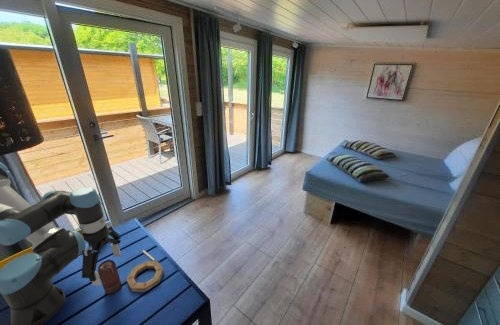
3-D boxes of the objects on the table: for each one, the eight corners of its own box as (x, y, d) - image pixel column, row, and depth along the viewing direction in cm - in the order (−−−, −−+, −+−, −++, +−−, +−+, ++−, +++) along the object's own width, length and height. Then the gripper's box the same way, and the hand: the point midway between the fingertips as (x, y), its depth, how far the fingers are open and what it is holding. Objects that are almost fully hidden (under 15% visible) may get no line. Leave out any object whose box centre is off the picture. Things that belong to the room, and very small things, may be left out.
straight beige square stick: (154, 260, 105) (154, 259, 105) (153, 261, 105) (153, 260, 104) (143, 250, 110) (143, 249, 110) (142, 251, 110) (142, 250, 110)
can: (114, 297, 87) (107, 273, 82) (101, 294, 89) (93, 269, 83) (125, 284, 93) (118, 260, 88) (113, 281, 94) (105, 257, 89)
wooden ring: (122, 291, 90) (121, 288, 89) (137, 264, 103) (137, 260, 102) (155, 291, 90) (154, 288, 89) (166, 264, 103) (166, 261, 102)
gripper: (79, 254, 66) (97, 299, 75) (123, 207, 90) (133, 246, 98) (55, 253, 66) (76, 299, 75) (105, 207, 89) (116, 246, 98)
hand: (108, 269), depth 86 cm, fingers open, 13 cm apart
